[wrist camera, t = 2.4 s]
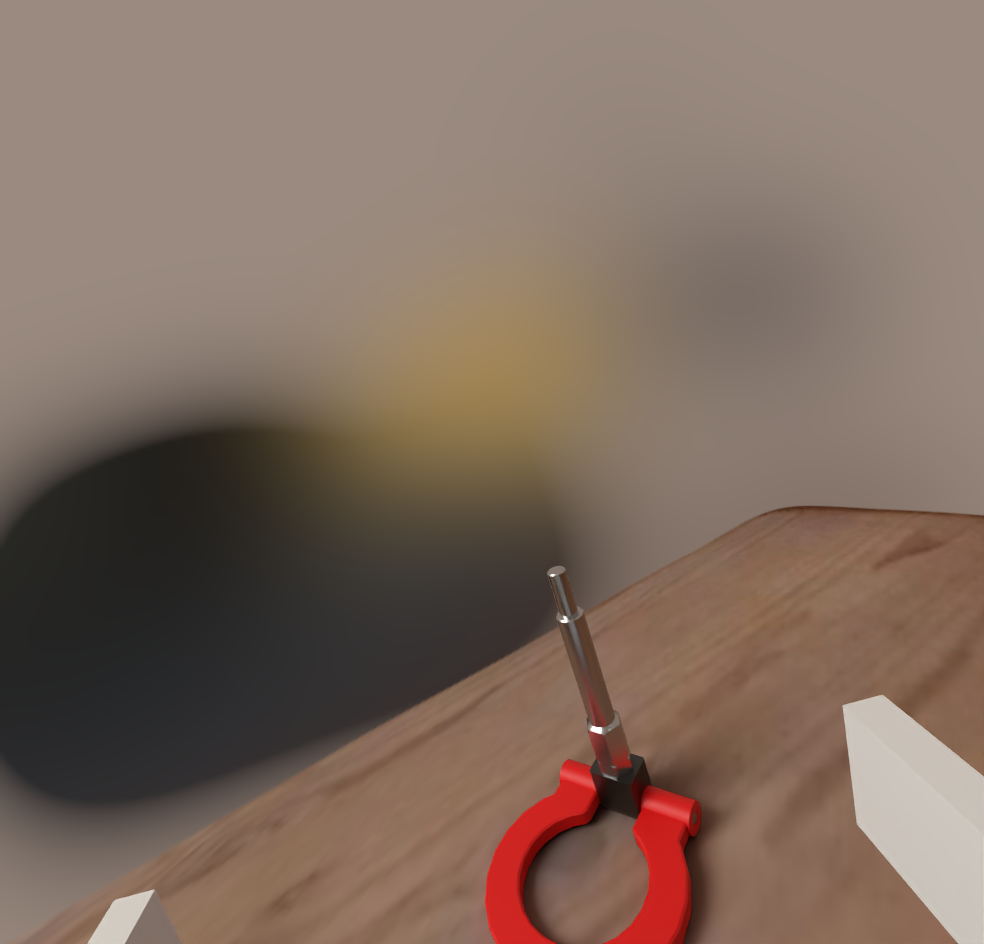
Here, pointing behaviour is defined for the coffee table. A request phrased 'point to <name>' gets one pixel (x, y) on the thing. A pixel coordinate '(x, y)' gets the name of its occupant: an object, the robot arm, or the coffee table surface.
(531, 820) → the tow hook
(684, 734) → the coffee table surface
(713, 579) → the coffee table surface
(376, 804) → the coffee table surface
